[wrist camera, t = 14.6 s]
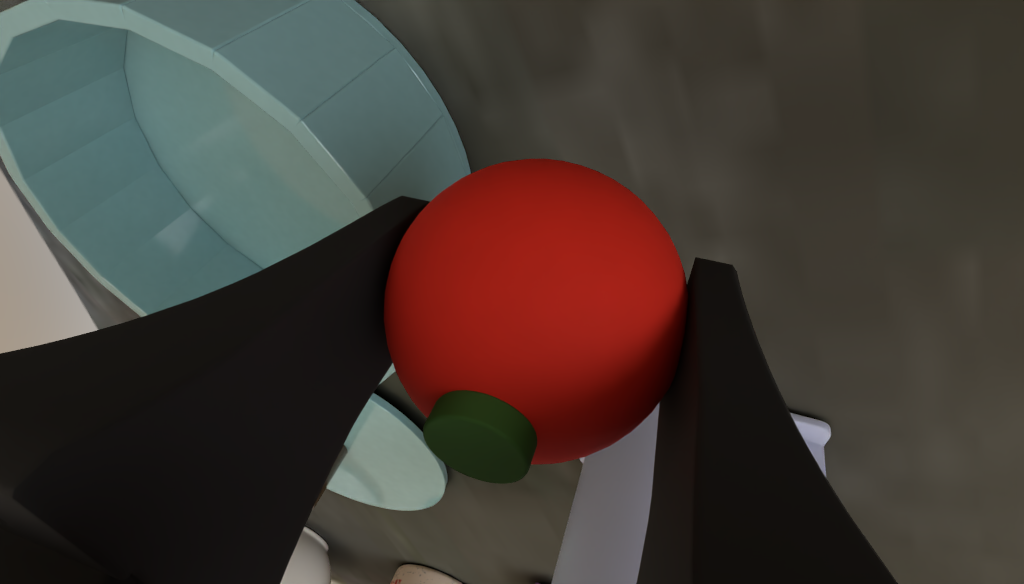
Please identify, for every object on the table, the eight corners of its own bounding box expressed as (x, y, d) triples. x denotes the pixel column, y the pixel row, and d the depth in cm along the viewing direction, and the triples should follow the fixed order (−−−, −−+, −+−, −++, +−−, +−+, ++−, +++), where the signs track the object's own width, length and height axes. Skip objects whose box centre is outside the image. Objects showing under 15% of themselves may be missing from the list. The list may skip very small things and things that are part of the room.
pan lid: (441, 390, 30) (397, 473, 27) (459, 520, 41) (430, 591, 38) (195, 319, 34) (128, 384, 30) (273, 456, 45) (231, 515, 42)
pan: (464, -31, 15) (364, 38, 11) (481, 337, 26) (432, 436, 22) (43, -75, 19) (-140, -32, 15) (210, 266, 29) (128, 341, 26)
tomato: (736, 131, 9) (712, 391, 5) (671, 338, 13) (629, 582, 9) (447, 85, 10) (259, 274, 7) (462, 287, 14) (346, 485, 10)
